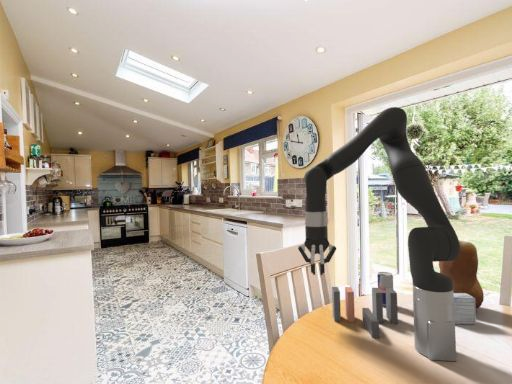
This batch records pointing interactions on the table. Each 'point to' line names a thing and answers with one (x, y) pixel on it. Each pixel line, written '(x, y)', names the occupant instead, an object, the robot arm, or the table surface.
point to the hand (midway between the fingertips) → (317, 274)
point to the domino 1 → (336, 304)
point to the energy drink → (384, 284)
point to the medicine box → (464, 309)
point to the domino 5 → (391, 306)
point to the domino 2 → (349, 304)
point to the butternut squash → (464, 272)
